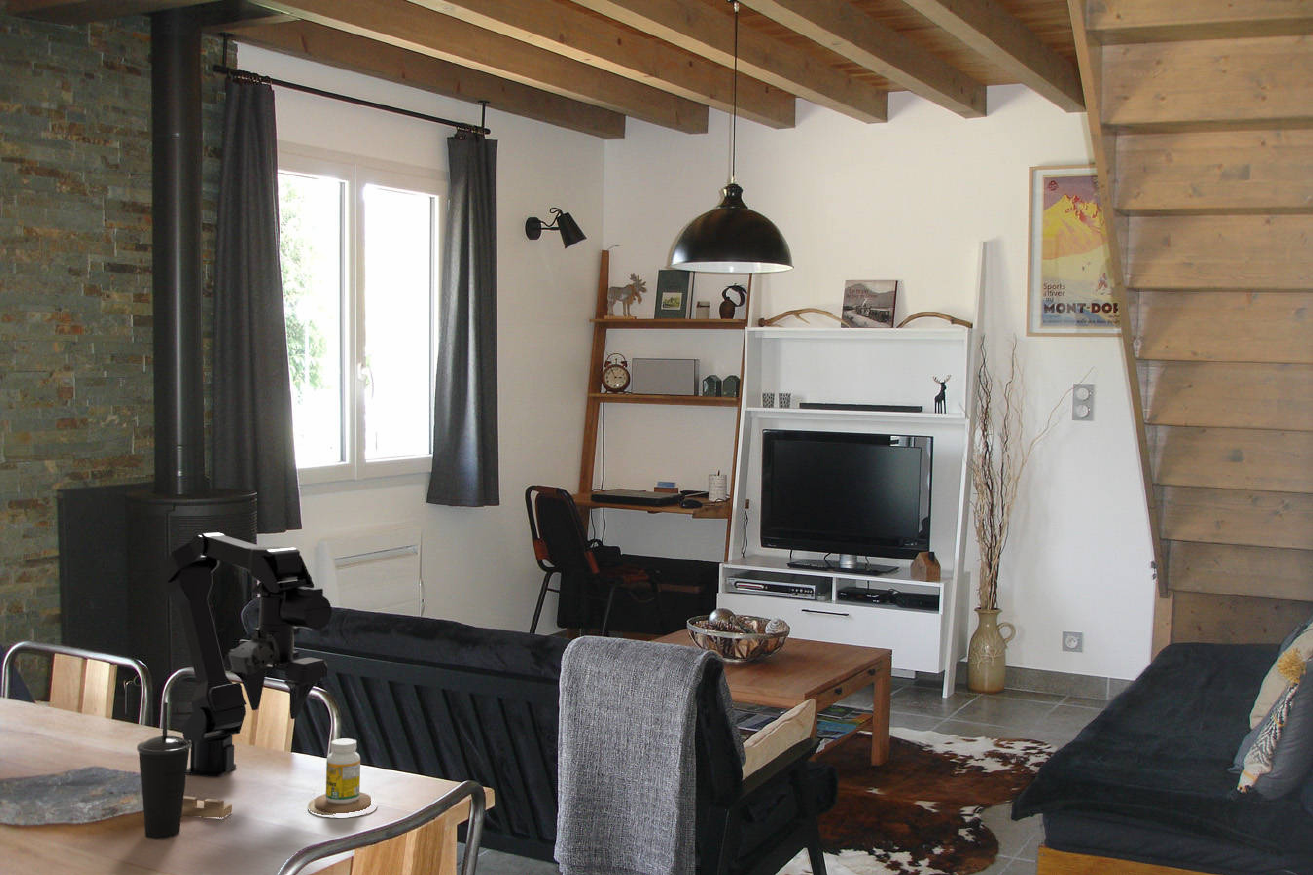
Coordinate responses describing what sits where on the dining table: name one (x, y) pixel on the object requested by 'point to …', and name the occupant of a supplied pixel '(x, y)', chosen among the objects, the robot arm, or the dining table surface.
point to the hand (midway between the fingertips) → (274, 714)
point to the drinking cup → (163, 781)
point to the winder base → (338, 805)
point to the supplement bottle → (343, 772)
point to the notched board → (205, 807)
